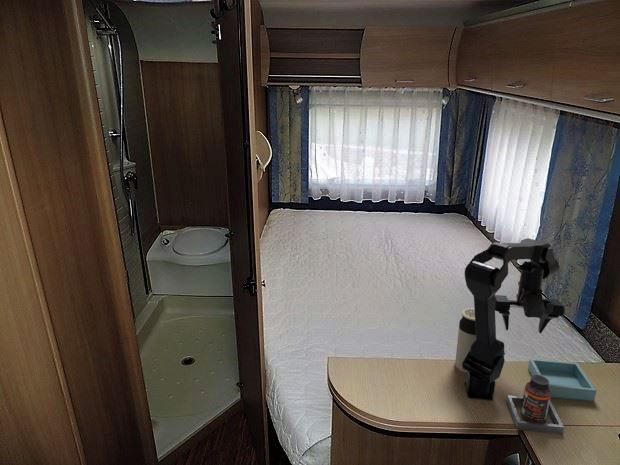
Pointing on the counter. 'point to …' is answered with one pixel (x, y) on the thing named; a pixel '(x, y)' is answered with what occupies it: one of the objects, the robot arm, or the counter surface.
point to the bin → (564, 379)
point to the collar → (534, 426)
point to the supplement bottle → (536, 399)
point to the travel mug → (465, 336)
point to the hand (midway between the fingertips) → (523, 331)
